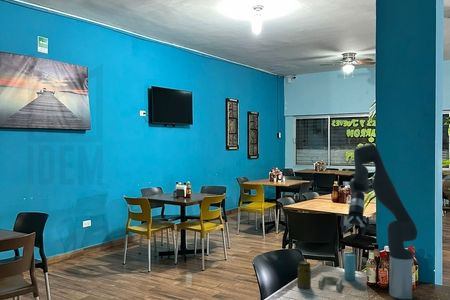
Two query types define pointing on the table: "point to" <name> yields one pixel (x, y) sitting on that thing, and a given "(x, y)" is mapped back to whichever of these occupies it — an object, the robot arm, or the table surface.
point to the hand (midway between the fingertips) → (353, 233)
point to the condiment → (304, 275)
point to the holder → (330, 283)
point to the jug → (349, 267)
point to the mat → (357, 281)
